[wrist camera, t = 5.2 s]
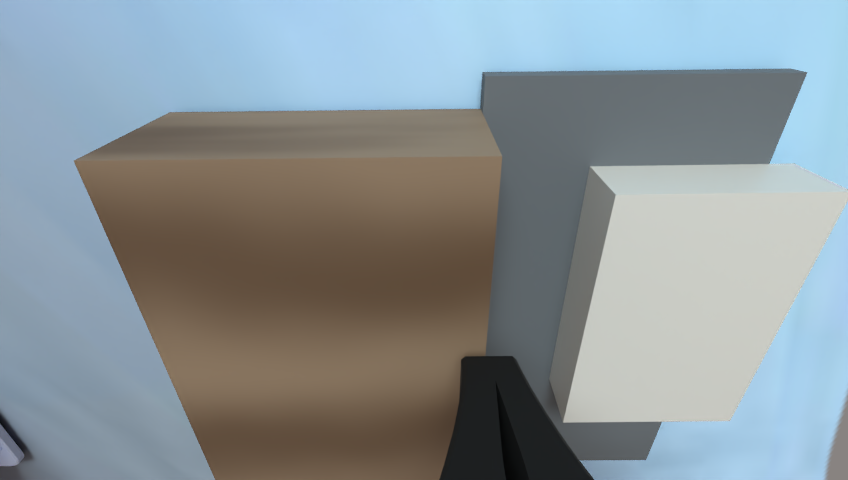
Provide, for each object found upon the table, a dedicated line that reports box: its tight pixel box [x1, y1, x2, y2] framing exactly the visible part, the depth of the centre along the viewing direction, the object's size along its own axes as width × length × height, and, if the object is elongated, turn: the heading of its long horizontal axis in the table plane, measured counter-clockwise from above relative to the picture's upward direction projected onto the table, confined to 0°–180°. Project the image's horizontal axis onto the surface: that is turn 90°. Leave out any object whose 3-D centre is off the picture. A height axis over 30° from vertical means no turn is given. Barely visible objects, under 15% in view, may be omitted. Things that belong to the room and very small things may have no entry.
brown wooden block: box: [74, 109, 502, 480], centre depth 16 cm, size 19×9×4 cm, turn 1°
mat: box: [481, 69, 807, 460], centre depth 16 cm, size 17×8×1 cm, turn 1°
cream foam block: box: [549, 164, 848, 423], centre depth 14 cm, size 9×6×2 cm, turn 1°
